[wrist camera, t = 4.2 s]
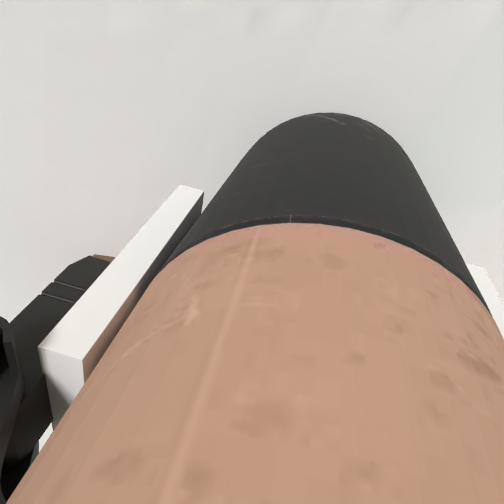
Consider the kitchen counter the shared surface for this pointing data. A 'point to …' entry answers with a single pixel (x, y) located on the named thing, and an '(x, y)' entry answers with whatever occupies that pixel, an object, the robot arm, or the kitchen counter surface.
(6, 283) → the kitchen counter surface
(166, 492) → the travel mug
